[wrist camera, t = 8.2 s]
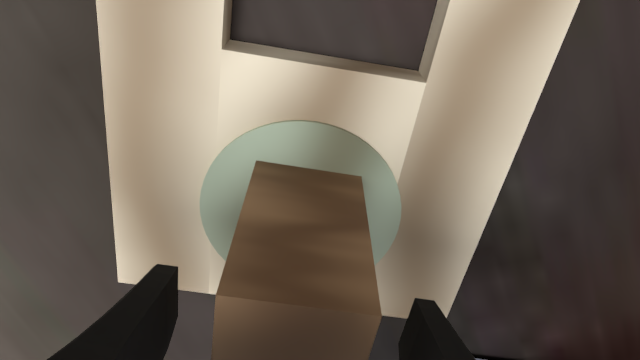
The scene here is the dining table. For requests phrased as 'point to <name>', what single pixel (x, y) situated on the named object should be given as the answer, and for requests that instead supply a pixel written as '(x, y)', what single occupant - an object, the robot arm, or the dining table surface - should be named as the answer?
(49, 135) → the dining table surface
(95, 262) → the dining table surface
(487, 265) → the dining table surface
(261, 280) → the block
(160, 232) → the board
